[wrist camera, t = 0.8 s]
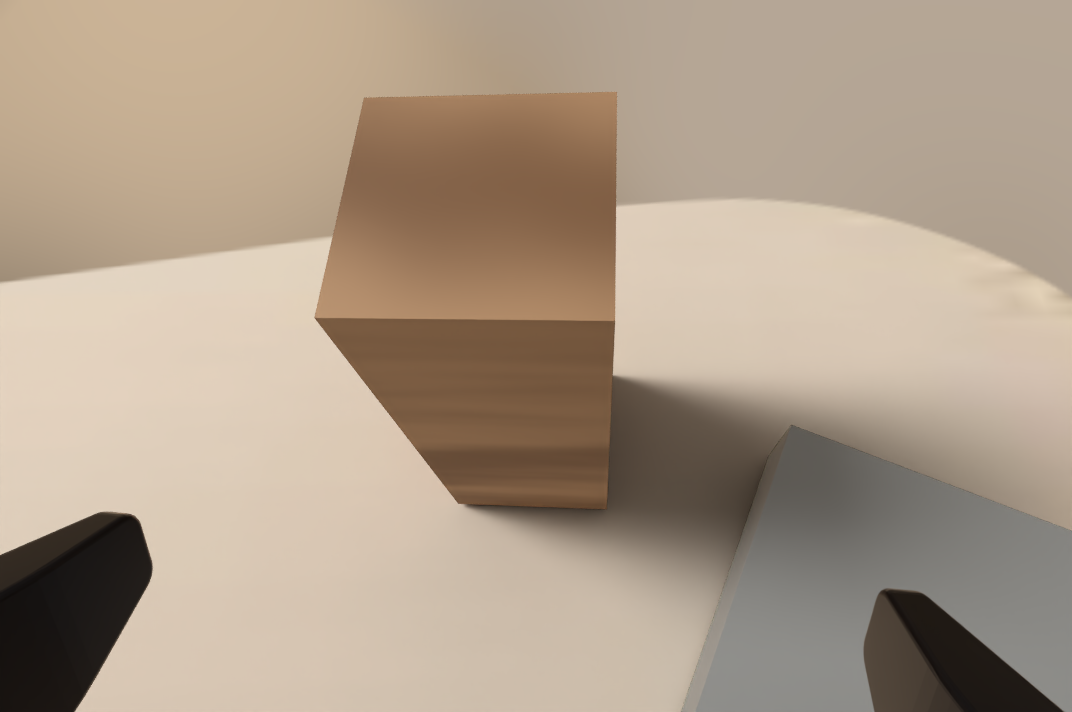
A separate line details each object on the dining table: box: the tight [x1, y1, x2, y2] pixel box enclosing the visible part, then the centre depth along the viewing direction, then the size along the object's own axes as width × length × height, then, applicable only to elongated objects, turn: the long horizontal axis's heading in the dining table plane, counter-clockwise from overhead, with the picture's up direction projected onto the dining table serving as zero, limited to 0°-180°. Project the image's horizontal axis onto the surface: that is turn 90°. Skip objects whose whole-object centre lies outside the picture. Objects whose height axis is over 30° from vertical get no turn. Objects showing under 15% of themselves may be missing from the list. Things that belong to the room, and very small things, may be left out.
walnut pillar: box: [315, 92, 617, 509], centre depth 18 cm, size 5×5×13 cm
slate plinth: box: [681, 425, 1072, 712], centre depth 19 cm, size 9×9×3 cm
